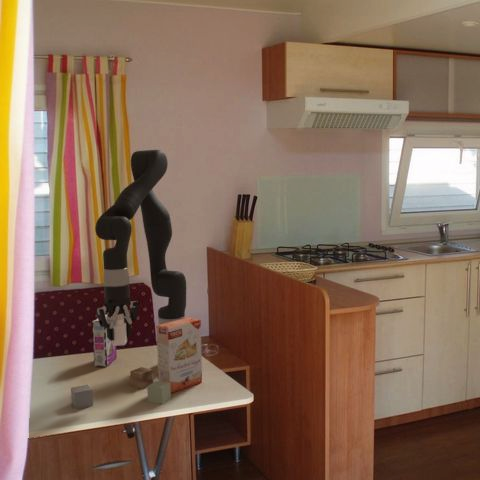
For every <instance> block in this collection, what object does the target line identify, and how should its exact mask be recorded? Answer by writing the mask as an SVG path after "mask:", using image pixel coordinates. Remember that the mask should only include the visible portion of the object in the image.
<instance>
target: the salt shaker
mask: <svg viewBox="0 0 480 480" xmlns="http://www.w3.org/2000/svg"><path fill="white" fill-rule="evenodd" d="M113 328H114V340H113V341H112V344H113V345H114V346H116V347H117V346H118V347H119V346H125V345H126V344H127V342H128V337H127V328H126V323H125V322H124V314H118V315H117V318H116V321H115V322H114V325H113Z"/></svg>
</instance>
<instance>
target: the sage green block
mask: <svg viewBox="0 0 480 480" xmlns="http://www.w3.org/2000/svg"><path fill="white" fill-rule="evenodd" d="M146 389H147V402H148V403H152V404H157V405H159V404H160V405H164V404H165V403H167V402H169V400H171V398H172V395H171V394H172V393H171V388H170V383H169V382H161V381H158V380H154V381H153V383H152V384H150V385H149V386H147V387H146Z"/></svg>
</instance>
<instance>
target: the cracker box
mask: <svg viewBox="0 0 480 480" xmlns="http://www.w3.org/2000/svg"><path fill="white" fill-rule="evenodd" d="M201 323H202V322H201V319H198V318H194V317H189V316H188V317H185V318H184V319H180V320H177V321H172V322H168V323H164V324H161V325H159V324H157V325H156V341H157V342H156V343H157V346H156V348H157V376H158V378H157V379H158V380H157V381H161V382H169V383H170V388H171V394H173V393H176V392H178V391H181V390H184V389H186V388H190V387H192V386H195V385H198V384H201V383H202V382H203V377H202V376H203V374H202V373H203V371H202V370H203V367H202V366H203V364H202V363H203V362H202V325H201Z"/></svg>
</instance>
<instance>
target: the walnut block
mask: <svg viewBox="0 0 480 480" xmlns="http://www.w3.org/2000/svg"><path fill="white" fill-rule="evenodd" d="M129 373H130V387H131V388H132V387H133V388H137V389H141V390H144V389H147V386H149V385H150V384H152V383H153V382H154V372H153V369H151V368H147V367H142V366H141V367H137V368H135V369H132V370H131V371H129Z"/></svg>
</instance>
